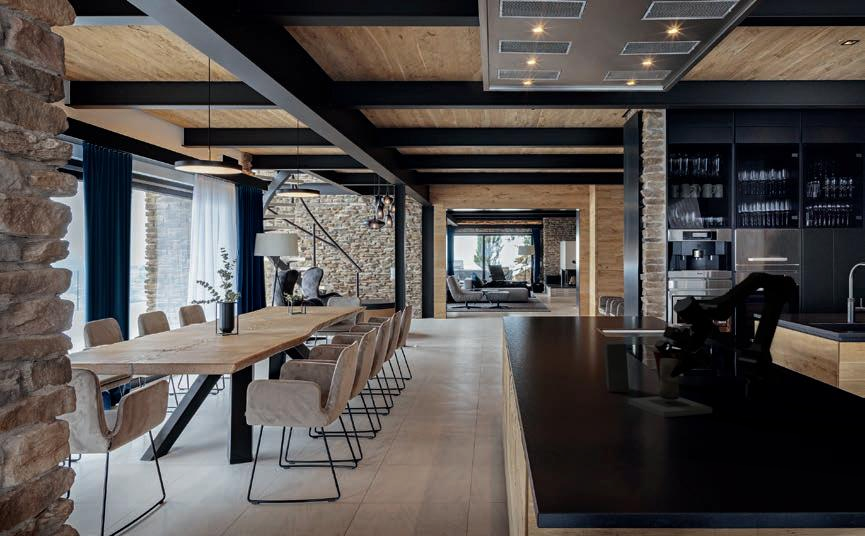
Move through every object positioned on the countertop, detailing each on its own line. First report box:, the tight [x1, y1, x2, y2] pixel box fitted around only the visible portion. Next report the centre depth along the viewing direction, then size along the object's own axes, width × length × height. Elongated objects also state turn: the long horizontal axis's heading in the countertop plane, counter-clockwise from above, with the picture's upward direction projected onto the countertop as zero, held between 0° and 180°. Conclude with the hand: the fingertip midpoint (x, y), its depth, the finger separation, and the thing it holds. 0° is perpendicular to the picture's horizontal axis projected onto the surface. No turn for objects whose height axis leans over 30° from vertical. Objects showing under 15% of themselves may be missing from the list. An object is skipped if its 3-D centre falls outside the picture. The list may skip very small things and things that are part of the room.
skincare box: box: [604, 341, 630, 393], centre depth 194 cm, size 8×7×16 cm
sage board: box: [627, 395, 713, 418], centre depth 170 cm, size 16×16×2 cm
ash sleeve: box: [659, 358, 680, 400], centre depth 169 cm, size 5×5×11 cm
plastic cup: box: [651, 349, 681, 383], centre depth 203 cm, size 11×11×12 cm
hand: (665, 375), depth 169 cm, fingers closed on ash sleeve, 5 cm apart
